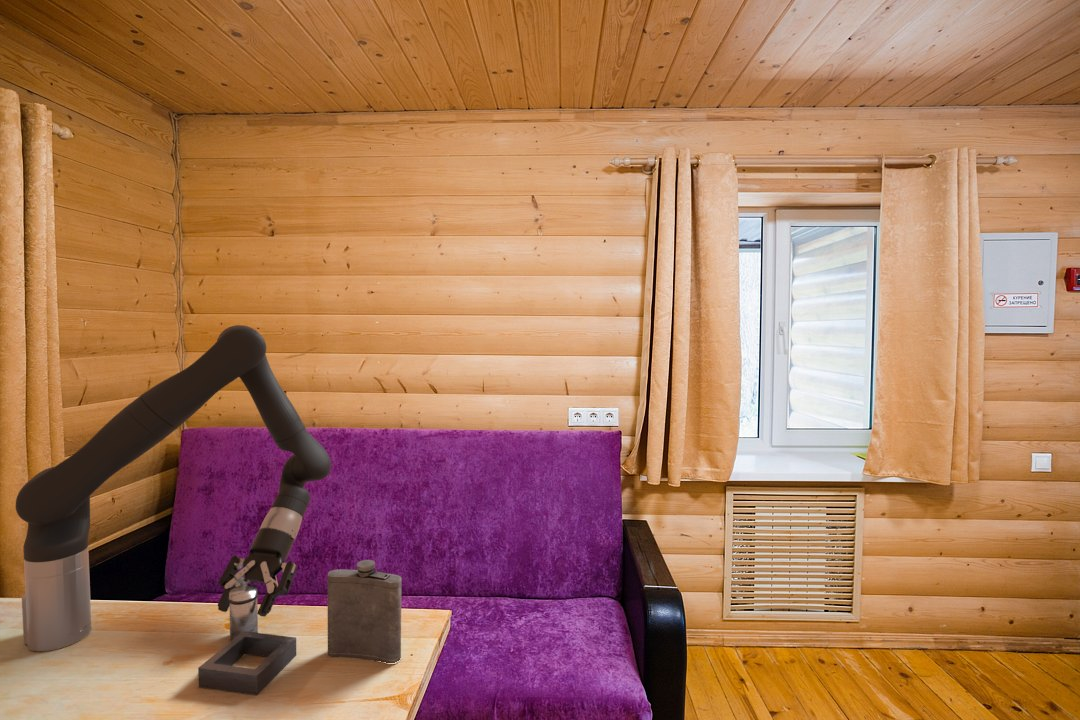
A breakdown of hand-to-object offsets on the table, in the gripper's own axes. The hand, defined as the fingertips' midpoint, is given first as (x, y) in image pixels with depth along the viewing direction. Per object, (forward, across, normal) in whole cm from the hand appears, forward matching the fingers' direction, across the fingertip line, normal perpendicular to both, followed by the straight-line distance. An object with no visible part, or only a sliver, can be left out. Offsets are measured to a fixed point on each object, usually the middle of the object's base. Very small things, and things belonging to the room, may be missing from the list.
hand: (241, 613), depth 105 cm
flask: (+4, +26, +4) cm, 27 cm away
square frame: (+10, +8, -2) cm, 13 cm away
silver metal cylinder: (+3, 0, +4) cm, 5 cm away
